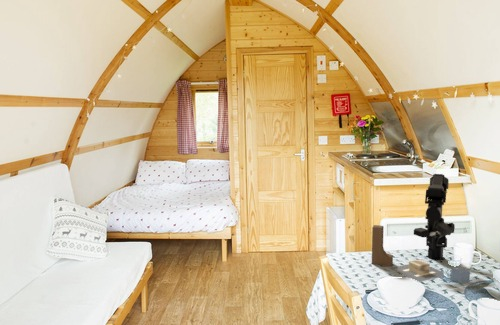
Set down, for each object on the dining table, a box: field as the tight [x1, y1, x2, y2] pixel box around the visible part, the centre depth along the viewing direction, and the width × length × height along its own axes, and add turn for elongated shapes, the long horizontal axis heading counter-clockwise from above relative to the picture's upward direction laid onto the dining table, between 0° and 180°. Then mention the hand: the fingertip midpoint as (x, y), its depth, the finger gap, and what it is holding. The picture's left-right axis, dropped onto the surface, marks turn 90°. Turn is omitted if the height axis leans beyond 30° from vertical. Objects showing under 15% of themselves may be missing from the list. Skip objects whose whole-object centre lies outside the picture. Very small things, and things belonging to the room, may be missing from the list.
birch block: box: [408, 259, 431, 275], centre depth 194 cm, size 6×6×4 cm
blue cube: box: [450, 266, 471, 284], centre depth 184 cm, size 5×5×5 cm
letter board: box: [389, 263, 445, 283], centre depth 195 cm, size 18×18×1 cm
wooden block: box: [371, 224, 394, 267], centre depth 204 cm, size 9×4×18 cm, turn 65°
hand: (433, 249), depth 197 cm, fingers closed
